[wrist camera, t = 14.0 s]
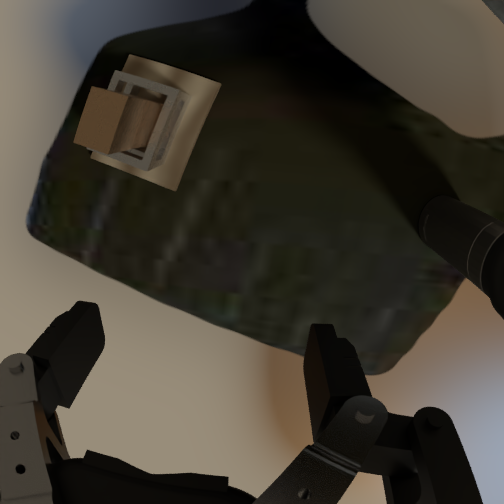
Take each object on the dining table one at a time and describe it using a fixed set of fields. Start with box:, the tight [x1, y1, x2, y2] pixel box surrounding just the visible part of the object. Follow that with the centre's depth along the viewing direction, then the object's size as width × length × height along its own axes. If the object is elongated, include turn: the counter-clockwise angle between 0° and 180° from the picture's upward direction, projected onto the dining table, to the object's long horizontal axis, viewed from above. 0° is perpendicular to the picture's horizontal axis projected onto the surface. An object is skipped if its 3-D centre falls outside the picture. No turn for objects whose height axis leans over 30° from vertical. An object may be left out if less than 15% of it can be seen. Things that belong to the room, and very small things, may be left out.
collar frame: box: [87, 70, 192, 172], centre depth 35 cm, size 8×10×8 cm
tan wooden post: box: [74, 86, 164, 155], centre depth 32 cm, size 4×6×16 cm
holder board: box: [91, 55, 221, 191], centre depth 39 cm, size 14×16×1 cm
